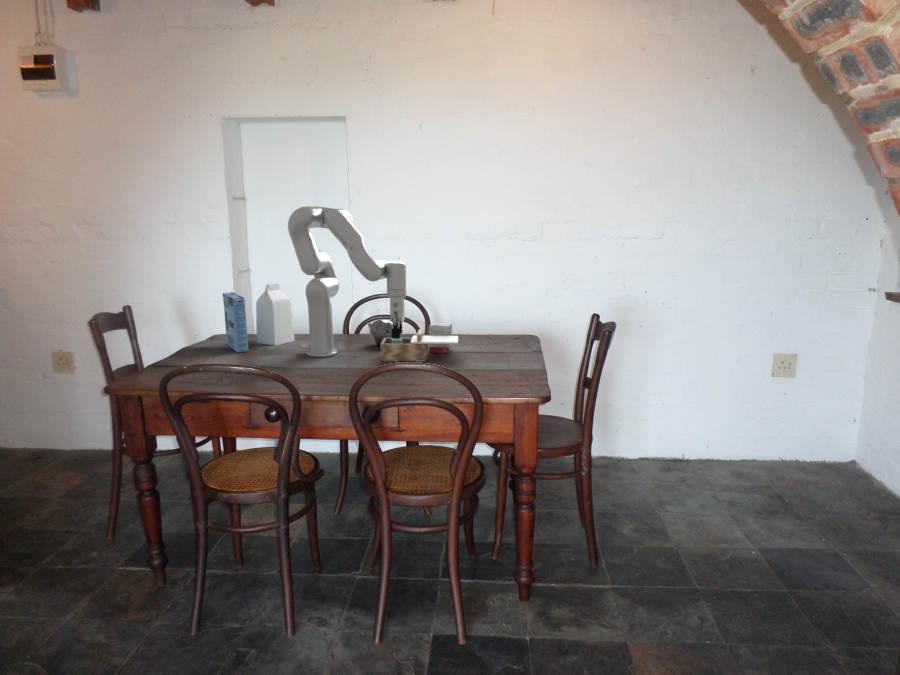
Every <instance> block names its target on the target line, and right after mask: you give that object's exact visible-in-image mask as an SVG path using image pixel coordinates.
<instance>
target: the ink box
mask: <svg viewBox="0 0 900 675" xmlns="http://www.w3.org/2000/svg"><path fill="white" fill-rule="evenodd" d="M428 336H453V323H452V322H439V321H437V322H436V321H434V322H432V323H430V324H429V325H428ZM452 346H453V344H428V353H429V352H432V353H431V354H434V353H435V354H449V353H450V352H451V351H452V349H453V347H452ZM450 350H451V351H450ZM449 351H450V352H449Z"/></svg>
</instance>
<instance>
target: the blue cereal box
mask: <svg viewBox="0 0 900 675" xmlns="http://www.w3.org/2000/svg"><path fill="white" fill-rule="evenodd" d="M222 299H223V311H224V323H225V334H226V335H225V336H226V337H225V338H226V344H227V345H228V346H229V347H230V348H232V350H234V351H235V352H236V353H243V352H244V353H245V352H249V342H248V341H249V339H248V325H247V315H246V303H245V302H246V301H245V297H243V296H241V295H239V294H237V293H235V292H234V291H233V292H232V291H231V292H223V293H222Z"/></svg>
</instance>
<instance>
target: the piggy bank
mask: <svg viewBox="0 0 900 675" xmlns="http://www.w3.org/2000/svg"><path fill="white" fill-rule="evenodd" d="M367 326H368V328H369V336H370V338H371V340H372V341H373V342H374V347H379V346H380V344H381V342H382V341H383V339H384V338H392V322H391V319H390V320H389V319H385V318H384V319H383V318H381V319H377V320H375V321H373V322H369V323H367ZM401 336H402V334H400V337H401Z"/></svg>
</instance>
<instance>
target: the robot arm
mask: <svg viewBox="0 0 900 675" xmlns="http://www.w3.org/2000/svg"><path fill="white" fill-rule="evenodd" d="M312 228H313V229H314V228H318V229H319V228H320V229H328V230H329V232H330V233H331V234H332V235H333V236H334V237H335V238H336V240H337V241H338V242H339V243H340V244H341V245H342V247H343V248H344V249H345V250H346V253H347V255H348V257H349V259H350V261H351V263H352V264H353V266H354V268H356V270H357V271H358V272H359V273H360V274H361V275H362V277H364V278H365V279H366V280H367V281H370V282H378V281H380V280H384V279H386V297H387V298H389V310H390V312H389V313H390V317H389V318H390V321H391V322H392V338H401V336H400V334H401V335H402V334H403V322H404V321H405V319H406V318H405V317H406V316H405V313H406V312H405V298H406V297H407V280H406V279H407V278H406V277H407V266H406V263H405V262H404V261H387V260H380V259H379V260H374V259H373V258H372V257H371V255H370V254H369V253H368V252H367V250H366V247H365V245H364V236H363V235H362V233H360V232H359V230H358V229H357V228H356V226H354V224H353V217H352V215H351V213H350V212H349V211H348V210H346V209H345V208H333V207H325V206H323V207H322V206H316V205H315V206H301V207H299V208H297V209H295V210H294V211H293V212H292V213H291V214H290V216H289V218H288V221H287V231H288V235H289V237H290V240H291V242H292V246H293V248H294V252H295V254H296V257H297V262H298V263H299V266H300V269H301V271H302V272H303V274H304V275H306V276H313V277H314V278H311V279H310V280H309V282H308V283H307V284H306V287H305V297H306V302H307V310H308V312H307V313H308V329H309V330H308V332H309V334H308V335H309V342H307V343H300V344H299V348H300V349H301V350H306V351H305V353H306V356H308V357H312V358H313V357H314V358H317V357H318V358H324V357H332V356H336V354H338V350H337V349H336V348H334V331H333V330H334V328H333V327H334V325H333V309H332V303H331V298H333V297H335V296H336V295H337V294H338V293H339V290H340V284H339V279H338V277H337V276H338V275H337V273H336V271H335V268H334V265H333V261H332V260H331V257H330V255H328V253H326V251H323V250H320V249H318V248H317V245H316V241H315V239H314V237H313V235H312V233H311V231H310V229H312Z"/></svg>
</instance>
